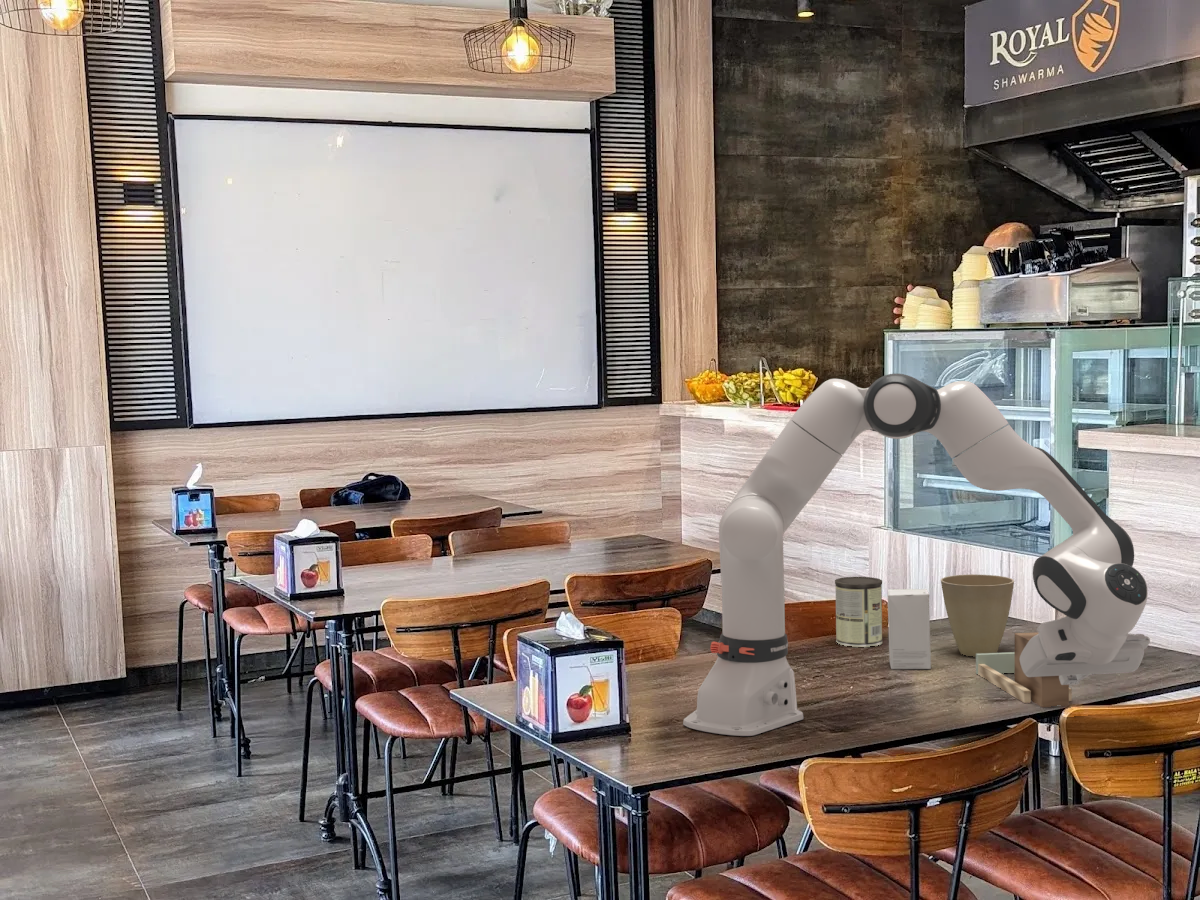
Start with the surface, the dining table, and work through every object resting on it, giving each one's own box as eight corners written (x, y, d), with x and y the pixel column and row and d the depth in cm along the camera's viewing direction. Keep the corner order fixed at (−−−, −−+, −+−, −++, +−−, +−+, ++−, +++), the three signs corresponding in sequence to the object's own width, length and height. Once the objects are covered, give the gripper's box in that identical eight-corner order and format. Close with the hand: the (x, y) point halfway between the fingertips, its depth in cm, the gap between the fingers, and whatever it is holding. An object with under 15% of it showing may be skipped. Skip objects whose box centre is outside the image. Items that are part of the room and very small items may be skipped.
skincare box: (929, 663, 268) (928, 588, 267) (931, 670, 261) (931, 593, 260) (887, 662, 269) (887, 588, 268) (888, 669, 263) (888, 593, 262)
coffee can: (841, 636, 296) (841, 575, 295) (886, 640, 291) (886, 577, 290) (830, 646, 286) (829, 582, 285) (877, 649, 282) (876, 584, 281)
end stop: (1021, 673, 258) (1021, 653, 257) (978, 674, 257) (978, 655, 257) (1019, 671, 259) (1019, 651, 259) (975, 673, 258) (975, 653, 258)
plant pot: (984, 644, 285) (984, 572, 284) (1029, 657, 271) (1029, 582, 270) (926, 650, 280) (926, 577, 279) (968, 664, 266) (968, 587, 265)
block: (1068, 706, 233) (1068, 645, 232) (1041, 707, 232) (1041, 646, 232) (1040, 690, 245) (1040, 632, 244) (1014, 691, 244) (1014, 633, 243)
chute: (1071, 701, 236) (1071, 689, 236) (1024, 703, 235) (1024, 691, 235) (1021, 673, 258) (1021, 662, 258) (978, 674, 257) (978, 663, 257)
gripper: (1146, 619, 220) (1118, 663, 230) (1030, 623, 218) (1007, 668, 228) (1160, 650, 216) (1131, 694, 226) (1041, 655, 214) (1017, 699, 224)
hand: (1067, 681), depth 227 cm, fingers closed
